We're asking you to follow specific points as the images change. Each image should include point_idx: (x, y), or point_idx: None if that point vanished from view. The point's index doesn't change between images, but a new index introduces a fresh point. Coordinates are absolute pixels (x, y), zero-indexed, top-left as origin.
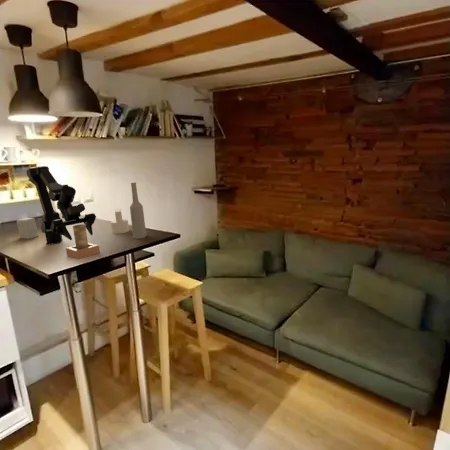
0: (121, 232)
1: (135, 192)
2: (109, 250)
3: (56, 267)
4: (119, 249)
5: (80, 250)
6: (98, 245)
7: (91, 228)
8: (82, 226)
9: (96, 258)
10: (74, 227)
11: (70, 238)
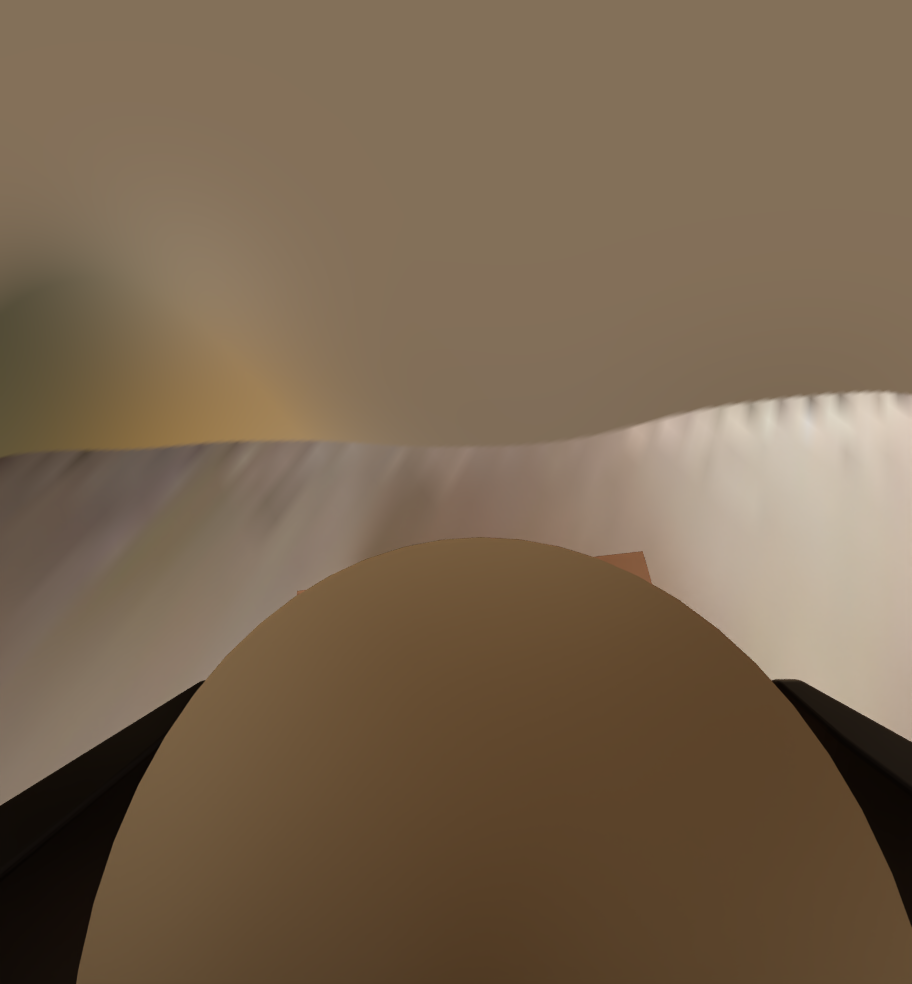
0: None
1: None
2: (224, 591)
3: (891, 516)
4: (154, 525)
5: (598, 557)
6: (303, 590)
7: (30, 798)
8: (425, 550)
9: (471, 448)
10: (829, 769)
11: (819, 707)
